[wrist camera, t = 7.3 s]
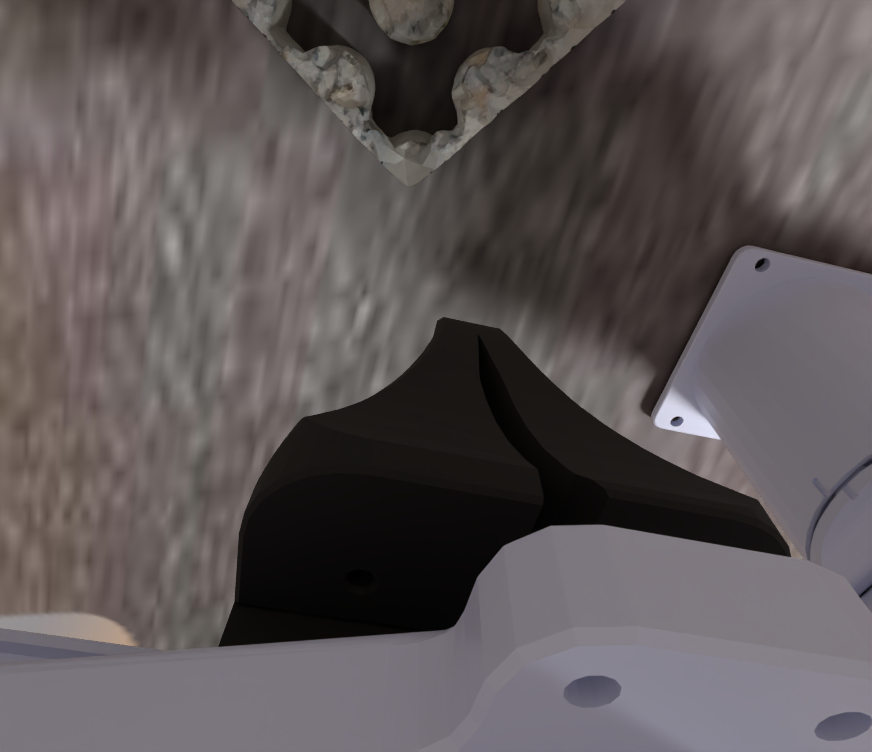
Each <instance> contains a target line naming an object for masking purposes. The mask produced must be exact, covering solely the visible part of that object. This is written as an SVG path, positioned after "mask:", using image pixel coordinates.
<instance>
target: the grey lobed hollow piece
mask: <svg viewBox="0 0 872 752" xmlns="http://www.w3.org/2000/svg"><path fill="white" fill-rule="evenodd" d="M454 1H455V0H369V5H370V10H371V12H372V14H373V17H374V19H375V20H376V22H377V24H378V25H379V27H380V28H381V29H382V30H383V31H384V32H385V33H386V34H387V36H388V37H389V38H390V39H393V40H396V41H398V42H401V43H406V44H409V45H416V44H421V43H425V42H428V41H430V40H433V39H435V38H436V37H437V36H438V35H439V33H440V32H441V31H442V30H443V29H444V27H445V26H446V25H447V23H448V21H449V19H450V16H451V14H452V11H453V7H454ZM625 1H626V0H538V13H539V17H540V20H541V24H542V28H543V31H544V33H543V35H542V36H541V38H540V39H539V40H538V41H537V42H536V43H535V44H534V45H533V46H532V47H531V48H530V49H529V50H527V51H524V52H522V53H516V52H513V51H510V50H507V49H506V48H505V47H502V46H496V47H491V48H483V49H479V50H477V51H476V52H474V53H473V54H471V55H470V56H469V57H468V58H467V59H466V60H465V61H464V62H463V63H462V64H461V65H460V67H459V69H458V71H457V73H456V76H455V79H454V84H453V89H452V99H453V102H454V105H455V108H456V111H457V120H458V124H457V125H456V126H455V127H454V128H453V130H452V131H444V130H441V131H437V132H436V133H435V134H434V135H431V134H429V133H427V132H424V131H419V130H410V131H405V132H402V133H400V134H397V135H396V136H394V137H392V138H390V137H388V136H386V135H385V134H384V132H383V131H382V130H381V129H380V128H379V127H378V126H377V125H376V123H375V122H374V121H373V119H372V112H371V109H372V105H373V101H374V97H375V80H374V74H373V72H372V69H371V67H370V65H369V63H368V61H367V60H366V59H365V58H364V57H363V56H362V55H361V54H360V53H359V52H357V51H355V50H354V49H352V48H350V47H346V46H342V45H332V46H318V47H315V48H313V49H311V50H308V51H306V52H305V51H304V50H303V49H302V48H301V47H300V46H299V45H298V44H297V43H296V42H295V41H294V40H293V39H292V38H291V37H290V35H289V34H288V33H287V32H286V29H287V24H288V21H289V17H290V14H291V10H292V0H232V2H233V3H234V4H235V5H236V6H237V7H238V8H239V9H240V10H241V12H242V13H243V14H244V15H245V16H246V17H247V18H248V19H249V20H250V21H251V22H252V23H253V24H254V25H255V26H256V27H257V28H258V29H259V30H260V31H261V33H262V34H263V35H264V36H265V37H266V38H267V39H268V40H269V41H270V43H271V44H272V45H273V46H274V47H275V48H276V49H277V50H278V52H279V54H281V55H282V57H283V58H284V59H285V60H286V61H287V62H288V63H289V64H290V65H291V66H292V67H293V68H294V69H295V71H296V72H297V73H298V74H299V75H300V76H301V77H302V78H303V79H304V81H305V82H306V83H307V84H308V85H309V86H310V87H311V88H312V90H313V91H314V92H315V93H316V94H317V95H318V96H319V97H320V98H321V99H322V100H323V102H324V103H325V104H326V105H327V106H328V107H329V108H330V109H331V110H332V111H333V112H334V113H335V115H336V116H337V117H338V118H339V119H340V120H341V121H342V122H343V123H344V125H345V126H346V127H347V128H348V129H349V130H350V131H351V133H352V134H353V135H354V136H356V138H357V139H358V140H359V141H360V142H361V143H362V144H363V145H365V146H366V147H367V148H368V149H369V150H370V152H371V153H372V154H373V155H374V156H375V157H376V158H377V159H378V160H379V161H380V163H381V164H382V165H383V166H384V167H385V168H386V169H387V170H388V171H390V172H391V173H392V174H393V175H394V176H395V177H397V178H398V179H399V180H400V181H401V182H402V183H404V184H405V185H406V186H407V187H409V186H413V185H416V184H417V183H419V182H420V181H421V180H422V179H424V178H425V177H426V176H428V175H429V174H430V173H432V172H433V171H434V170H436V169H437V168H438V167H439V166H440V165H442V164H443V163H444V162H445V161H446V160H448V159H449V158H450V157H451V156H452V155H454V154H455V153H456V152H457V151H458V150H459V149H460V148H461V147H462V146H463V145H464V144H465V143H466V142H467V141H469V140H470V139H471V138H472V137H473V136H474V135H475V134H476V133H477V132H479V131H480V130H481V129H482V128H483V127H484V126H486V125H487V124H489V123H490V122H491V121H492V120H493V119H494V118H495V117H496V116H497V115H498V114H499V113H500V112H501V111H503V110H504V109H505V108H506V107H507V106H509V105H510V104H511V103H512V102H513V101H514V100H516V99H517V98H519V97H520V96H521V95H523V94H524V93H525V92H526V91H527V90H528V89H529V88H531V87H532V86H533V85H534V84H535V83H536V82H537V81H538V80H539V79H540V78H541V77H542V76H543V75H544V74H545V73H546V72H547V71H548V70H549V69H550V68H551V67H552V66H553V65H555V64H556V63H557V62H558V61H559V60H560V59H561V58H563V57H564V56H565V55H566V54H567V53H568V52H570V51H571V50H572V49H573V48H574V47H575V46H576V45H577V44H578V43H579V42H580V41H582V40H583V39H584V38H585V37H586V36H587V35H588V34H589V33H590V32H591V31H592V30H593V29H594V28H595V27H596V26H598V25H599V24H600V23H601V22H603V21H604V20H605V19H606V18H607V17H609V16H610V15H611V14H612V13H613V12H614V11H615V10H616V9H618V8H619V7H620V6H621V5H622V4H623V3H624V2H625Z"/></svg>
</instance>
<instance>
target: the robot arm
mask: <svg viewBox="0 0 872 752" xmlns="http://www.w3.org/2000/svg"><path fill="white" fill-rule="evenodd" d="M762 258H765V261H764V264H763V265H762V266H761V267H759V268H755V264H756V263H757V261H758V260H760V259H762ZM677 416H680V417H679V418H678V419H677V420H675V421H671V420H672V419H673V418H674V417H677ZM651 419H652V421H653V423H654V424H655V425H656V427H659V428H662V429H667V430H673V431H678V432H683V433H688V434H693V435H698V436H703V437H708V438H714V439H719V440H721V441H722V442H723V444H724V445H725V446H726V448H727V449H728V451H729V452H730V454H731V455H732V457H733V458H734V459H735V461H736V462H737V464H738V465H739V467H740V468H741V470H742V471H743V472H744V474H745V475H746V477H747V478H748V480H749V481H750V482H751V484H752V485H753V487H754V488H755V490H756V491H757V493H758V494H759V495H760V497H761V498H762V500H763V501H764V503H765V504H766V506H767V507H768V508H769V510H770V511H771V513H772V514H773V516H774V517H775V519H776V520H777V521H778V523H779V524H780V526H781V527H782V529H783V530H784V531H785V533H786V534H787V536H788V537H789V539H790V540H791V542H792V543H793V544H794V546H795V547H796V549H797V550H798V552H799V553H800V555H801V556H802V557H803V559H804V560H803V559H797V558H792V557H791V554H790V549H789V546H788V545H787V543H786V542H785V540H784V539H783V537H782V536H781V534H780V533H779V531H778V530H777V528H776V527H775V525H774V524H773V522H772V521H771V519H770V518H769V516H768V514H767V513H766V511H765V510H764V508H763V507H762V505H761V504H760V502H759V501H758V500H756V499H754V498H751V497H749V496H746V495H744V494H741V493H739V492H736V491H734V490H732V489H729V488H727V487H724V486H722V485H719V484H717V483H714V482H712V481H709V480H707V479H704V478H702V477H699V476H697V475H695V474H693V473H691V472H689V471H686V470H684V469H682V468H680V467H678V466H676V465H674V464H672V463H670V462H668V461H666V460H664V459H662V458H660V457H658V456H656V455H654V454H653V453H651V452H649V451H647V450H645V449H643V448H642V447H640V446H638V445H637V444H635V443H633V442H632V441H630V440H628V439H627V438H625V437H623V436H622V435H620V434H618V433H617V432H615V431H614V430H612V429H611V428H609V427H608V426H606V425H605V424H603V423H602V422H600V421H599V420H598V419H596V418H595V417H594V416H592V415H591V414H590V413H588V412H587V411H586V410H584V409H583V408H581V407H580V406H579V405H578V404H576V403H575V402H574V401H573V400H572V399H570V398H569V397H568V396H567V395H566V394H565V393H564V392H563V391H561V390H560V389H559V388H558V387H557V386H556V385H555V384H554V383H553V382H551V381H550V380H549V379H548V378H547V377H546V376H545V375H544V374H543V373H542V372H541V371H540V370H539V369H538V368H537V367H536V366H535V365H534V364H533V362H532V361H531V360H530V359H529V358H528V357H527V356H526V355H525V354H524V353H523V352H522V351H521V350H520V349H519V348H518V346H517V345H516V344H515V343H514V342H513V341H512V340H511V339H510V338H509V337H508V336H507V335H506V334H505V333H504V332H503V331H502V330H500V329H498V328H493V327H488V326H484V325H479V324H474V323H469V322H464V321H460V320H455V319H450V318H445V317H443V318H441V319H440V320H438V321H437V324H436V328H435V332H434V336H433V338H432V340H431V341H430V343H429V344H428V346H427V347H426V349H425V350H424V352H423V353H422V354H421V355H420V356H419V357H418V359H417V360H416V361H415V362H414V363H413V364H412V365H411V366H410V367H409V368H408V369H407V370H406V371H405V372H404V373H403V374H402V375H401V376H400V377H399V378H397V379H396V380H395V381H394V382H392V383H391V384H390V385H388V386H387V387H385V388H384V389H382V390H381V391H379V392H378V393H376V394H375V395H373V396H371V397H369V398H368V399H365V400H363V401H361V402H358V403H356V404H353V405H350V406H348V407H345V408H342V409H338V410H334V411H330V412H325V413H321V414H317V415H313V416H307V417H304V418H302V419H301V420H300V421H299V422H298V423H297V425H296V426H295V427H294V428H293V429H292V431H291V432H290V433H289V434H288V436H287V437H286V438H285V440H284V441H283V442H282V444H281V445H280V446H279V448H278V449H277V451H276V452H275V453H274V455H273V456H272V458H271V460H270V461H269V463H268V464H267V466H266V468H265V469H264V471H263V473H262V474H261V476H260V478H259V480H258V482H257V484H256V486H255V488H254V490H253V493H252V495H251V498H250V500H249V503H248V505H247V508H246V510H245V513H244V516H243V520H242V524H241V528H240V531H239V542H238V557H237V572H236V587H235V602H234V605H233V608H232V610H231V613H230V616H229V619H228V622H227V624H226V627H225V630H224V633H223V635H222V638H221V641H220V644H219V646H218V647H211V648H198V649H184V650H171V651H165V650H157V649H150V648H143V647H135V646H128V645H120V644H113V643H106V642H98V641H91V640H83V639H76V638H69V637H61V636H53V635H47V634H38V633H31V632H25V631H17V630H10V629H2V628H0V752H872V274H869V273H865V272H861V271H857V270H852V269H848V268H844V267H840V266H836V265H831V264H827V263H823V262H819V261H815V260H810V259H806V258H802V257H798V256H794V255H789V254H785V253H781V252H777V251H772V250H768V249H764V248H760V247H756V246H744V247H741V248H740V249H738V250H737V251H736V252H735V253H734V254H733V256H732V258H731V260H730V262H729V264H728V266H727V267H726V269H725V271H724V273H723V275H722V277H721V279H720V281H719V283H718V285H717V287H716V289H715V291H714V293H713V295H712V297H711V299H710V301H709V302H708V304H707V306H706V308H705V310H704V312H703V314H702V316H701V318H700V320H699V322H698V324H697V326H696V328H695V330H694V332H693V334H692V336H691V337H690V339H689V341H688V343H687V345H686V347H685V349H684V351H683V353H682V355H681V357H680V359H679V361H678V363H677V365H676V367H675V369H674V371H673V372H672V374H671V376H670V378H669V380H668V382H667V384H666V386H665V388H664V390H663V392H662V394H661V396H660V398H659V400H658V402H657V404H656V406H655V407H654V409H653V411H652V414H651Z"/></svg>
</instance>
